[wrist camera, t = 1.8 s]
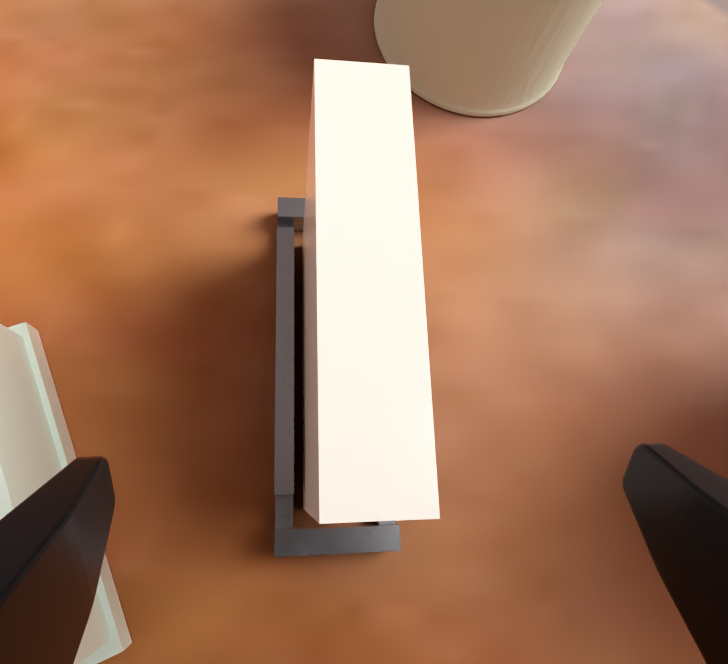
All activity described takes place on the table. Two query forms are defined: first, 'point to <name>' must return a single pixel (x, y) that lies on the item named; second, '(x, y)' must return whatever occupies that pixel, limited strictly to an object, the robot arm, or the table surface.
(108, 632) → the dish rack
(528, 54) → the can
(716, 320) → the table surface
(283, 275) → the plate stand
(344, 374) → the white block
